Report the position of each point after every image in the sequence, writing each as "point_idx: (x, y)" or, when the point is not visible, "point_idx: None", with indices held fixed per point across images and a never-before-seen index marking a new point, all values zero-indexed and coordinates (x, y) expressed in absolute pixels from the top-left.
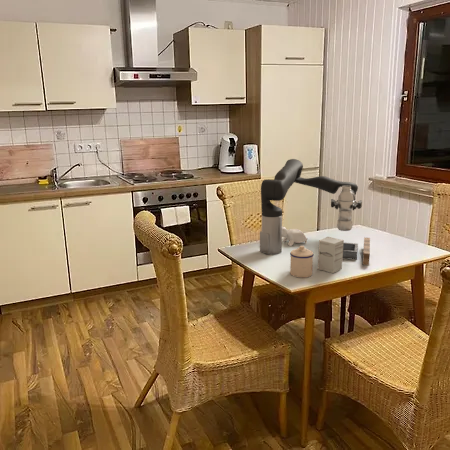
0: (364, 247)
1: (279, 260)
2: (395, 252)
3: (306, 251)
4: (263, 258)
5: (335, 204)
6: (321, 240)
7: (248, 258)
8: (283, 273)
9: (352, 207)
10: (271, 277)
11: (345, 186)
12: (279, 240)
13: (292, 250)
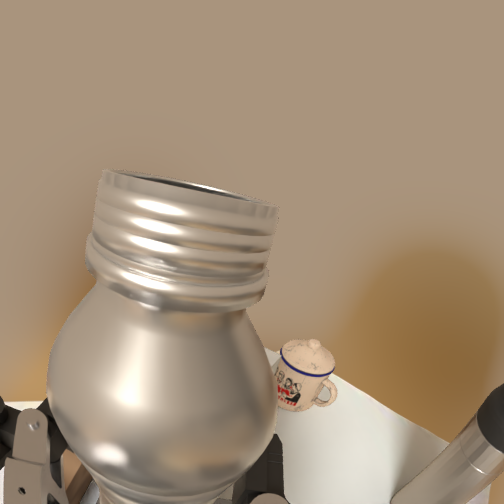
0: (78, 461)
1: (366, 459)
2: None
3: (298, 342)
4: (403, 459)
5: (276, 462)
6: (274, 353)
7: (426, 448)
8: (325, 396)
9: (62, 475)
10: (338, 380)
11: (189, 222)
12: (417, 482)
13: (332, 360)
